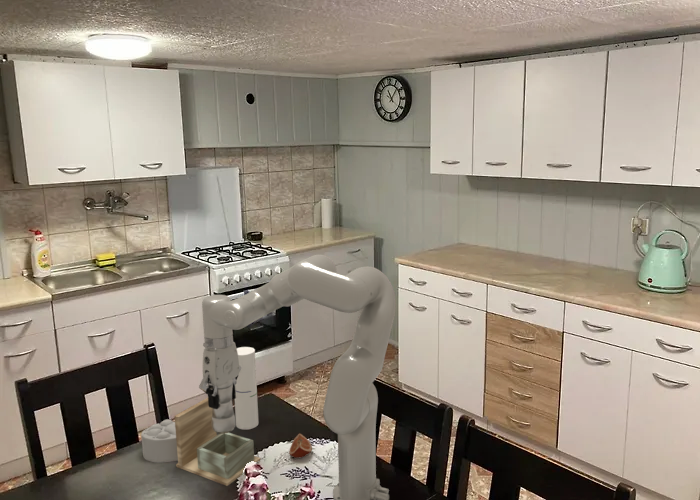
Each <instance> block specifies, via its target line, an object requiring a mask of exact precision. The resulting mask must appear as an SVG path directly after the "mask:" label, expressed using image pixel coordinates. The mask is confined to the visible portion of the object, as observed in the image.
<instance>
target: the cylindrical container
mask: <svg viewBox="0 0 700 500" xmlns="http://www.w3.org/2000/svg"><path fill="white" fill-rule="evenodd" d="M236 348H237V353H238V359H239V366H241V370H240V372H239V375H238V378H237V380H236V381H237V383H236V385H235V392H236V398H235V399H234V409H235V413H234V415H235V420H236V424H235V427H236V428H237V429H239V430H251V429H254V428H257V426H258V425H259V408H258V389H257V369H256V349H255V348H254V347H250V346H241V347H236Z"/></svg>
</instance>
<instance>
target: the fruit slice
mask: <svg viewBox="0 0 700 500" xmlns="http://www.w3.org/2000/svg"><path fill="white" fill-rule="evenodd" d="M288 451H289V452H288V454H289V455H290V456H291V457H292V458H296V459H301V458H303V457H307V456H308V455H309V454H311V452H312V451H313V446H312V443H311V441H310V440H309V439H308V438H307V437H305V435H303V434H302V433H300V432H299V433H298V434H297V435H296V436H295V437H294V438H293V440H292V443H291V445H290V448H289V450H288Z"/></svg>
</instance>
